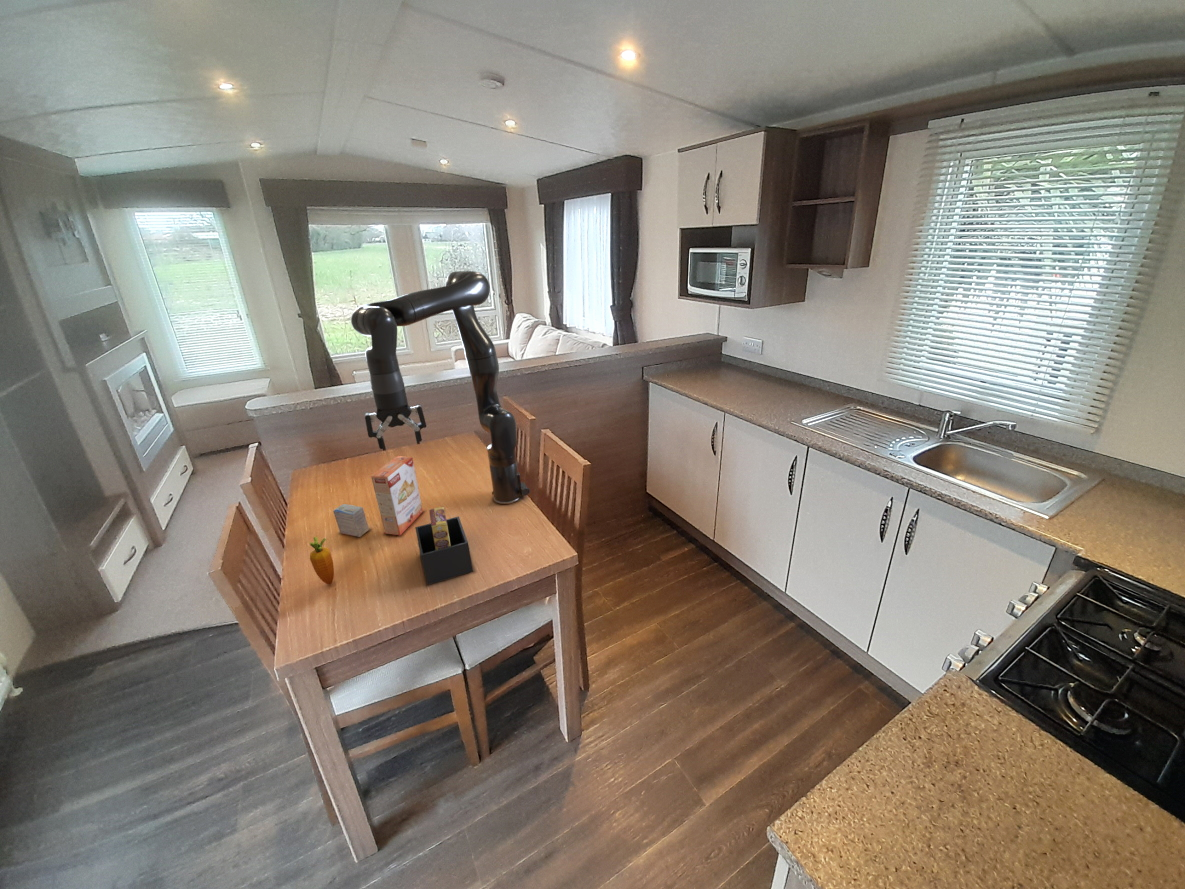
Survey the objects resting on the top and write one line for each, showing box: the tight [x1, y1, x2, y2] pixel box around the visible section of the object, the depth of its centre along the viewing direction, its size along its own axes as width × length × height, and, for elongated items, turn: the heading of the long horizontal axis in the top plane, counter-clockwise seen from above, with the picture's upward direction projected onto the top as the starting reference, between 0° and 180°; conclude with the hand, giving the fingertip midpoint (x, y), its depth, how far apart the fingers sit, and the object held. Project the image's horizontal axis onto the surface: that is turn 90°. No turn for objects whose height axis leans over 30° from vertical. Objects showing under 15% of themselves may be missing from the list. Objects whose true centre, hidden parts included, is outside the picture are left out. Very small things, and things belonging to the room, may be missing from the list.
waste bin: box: [414, 515, 474, 586], centre depth 133 cm, size 12×14×10 cm
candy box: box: [428, 506, 451, 550], centre depth 131 cm, size 9×4×15 cm, turn 21°
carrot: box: [309, 536, 335, 586], centre depth 125 cm, size 5×5×15 cm
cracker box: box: [370, 455, 424, 536], centre depth 150 cm, size 14×6×21 cm, turn 168°
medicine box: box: [332, 503, 370, 538], centre depth 149 cm, size 8×4×9 cm, turn 71°
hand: (401, 446), depth 126 cm, fingers open, 8 cm apart
